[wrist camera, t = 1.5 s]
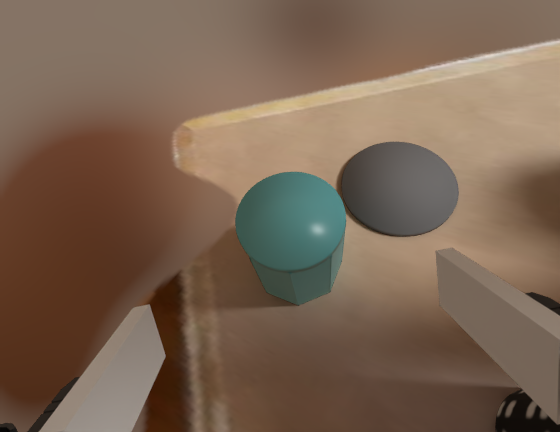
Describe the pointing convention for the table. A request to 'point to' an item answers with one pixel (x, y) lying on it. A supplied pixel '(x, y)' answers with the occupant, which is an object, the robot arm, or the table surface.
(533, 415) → the spotted tube
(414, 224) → the coaster
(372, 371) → the table surface
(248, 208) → the teal piece
